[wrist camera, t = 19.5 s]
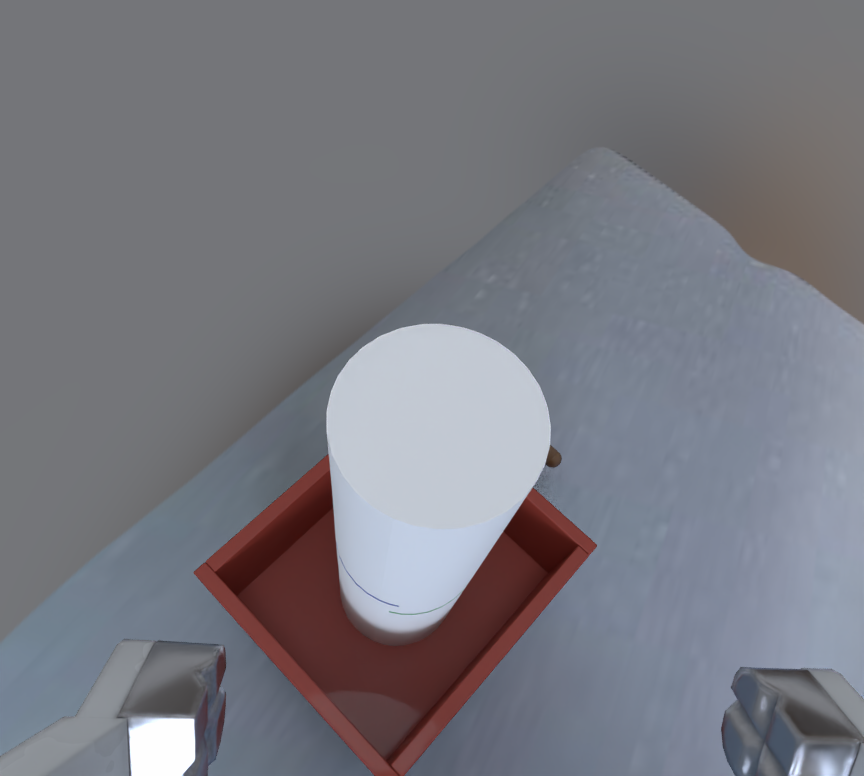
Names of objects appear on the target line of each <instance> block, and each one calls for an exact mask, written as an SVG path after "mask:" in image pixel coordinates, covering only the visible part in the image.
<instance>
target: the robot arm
mask: <svg viewBox="0 0 864 776" xmlns="http://www.w3.org/2000/svg"><path fill="white" fill-rule="evenodd" d="M225 669H226V652H225V648H224V645H218V644H203V643H187V642H172V641H151V640H133V639H124V640H122V641H121V642H120V643H118V644H117V645H116V647H115V649H114V650H113V652H112V654H111V656H110V657H109V659H108V661H107V662H106V664H105V666H104V668H103V669H102V671H101V673H100V674H99V676H98V678H97V679H96V681H95V683H94V685H93V686H92V688H91V690H90V691H89V693H88V695H87V697H86V698H85V700H84V702H83V703H82V705H81V707H80V708H79V710H78V712H77V714H76V715H75V717H63V718H61V719H59V720H58V721H56V722H55V723H53V724H51V725H50V726H48V727H47V728H45V729H43V730H42V731H40V732H39V733H37V734H35V735H34V736H32V737H31V738H29V739H27V740H26V741H24V742H22V743H21V744H19V745H18V746H16V747H14V748H13V749H11V750H10V751H8V752H6V753H5V754H3V755H2V756H0V776H208V766H209V765H210V764H211V763H212V762H213V761H215V760H216V756H217V753H218V749H219V746H220V742H221V736H222V731H223V726H224V718H225V707H226V692H225V691H224V689H223V688H222V687H221V686H220V684H221V681H222V678H223V675H224V672H225ZM731 689H732V690H733V692H734V694H735V696H736V698H737V700H736V701H735V702H734V703H733V704H732V705H731V706H730V707H729V708H728V709H727V710H725V714H724V718H723V723H722V728H721V731H722V743H723V749H724V752H725V755H726V758H727V761H728V763H729V765H730V767H731V769H732V771H733V773H734V774H735V776H864V699H863V698H862V697H861V696H860V695H859V694H858V693H857V692H856V690H855V689H854V688H853V687H852V686H851V685H850V684H849V683H848V681H847V680H846V679H845V678H844V677H843V676H842V675H841V674H840V673H838V672H836V671H835V670H833V669H816V668H801V669H779V668H752V667H740V669H739V670H738V671H737V672H736V674H735V676H734V679H733V683H732V686H731Z"/></svg>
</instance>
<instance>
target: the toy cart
mask: <svg viewBox="0 0 864 776" xmlns="http://www.w3.org/2000/svg"><path fill="white" fill-rule="evenodd" d="M561 459H562V458H561V455H560V453H559V452H558V451H557V450H556V449H554V448H553V447H552V446H551V445H550V448H549V452H548V455H547V459H546V463H545V464H546V465H547V466H549V467H557V466H558V465H559V464H560V463H561ZM596 547H597V545H596V544H595V543H594V542H593V541H592V540H591V539H590V538H589V537H588V536H587V535H585V534H584V533H583V532H582V531H581V530H580V529H579V528H578V527H576V526H575V525H574V524H573V523H572V522H571V521H570V520H569V519H568V518H566V517H565V516H564V515H563V514H562V513H561V512H560V511H559V510H557V509H556V508H555V507H554V506H553V505H552V504H551V503H550V502H548V501H547V500H546V499H545V498H544V497H543V496H542V495H541V494H540V493H538V492H537V491H536V490H535V489H534V488H532V489H531V491H530V492H529V494H528V495H527V497H526V498H525V500H524V501H523V503H522V504H521V506H520V507H519V509H518V510H517V512H516V513H515V515H514V516H513V517H512V519H511V520H510V522H509V523H508V525H507V526H506V528H505V529H504V531H503V532H502V534H501V535H500V537H499V538H498V540H497V541H496V543H495V544H494V546H493V547H492V549H491V550H490V552H489V553H488V555H487V556H486V558H485V559H484V561H483V562H482V564H481V565H480V567H479V568H478V570H477V571H476V573H475V574H474V576H473V577H472V579H471V580H470V582H469V583H468V585H467V586H466V588H465V589H464V591H463V592H462V594H461V595H460V597H459V598H458V599H457V601H456V602H455V604H454V605H453V607H452V608H451V610H450V611H449V613H448V614H447V616H446V617H445V619H444V620H443V622H442V623H441V624H440V625H439V627H438V628H437V629H436V630H435V631H434V632H432V633H431V634H430V635H429V636H427V637H426V638H424V639H422V640H420V641H418V642H415V643H412V644H408V645H401V646H391V645H384V644H381V643H378V642H375V641H372V640H371V639H369V638H367V637H366V636H364V635H363V634H362V633H360V632H359V631H358V630H357V629H356V628H355V627H354V626H353V624H352V623H351V621H350V620H349V619H348V617H347V615H346V613H345V610H344V608H343V605H342V600H341V596H340V583H339V569H338V558H337V548H336V537H335V523H334V510H333V496H332V484H331V473H330V462H329V454H328V455H327V456H326V457H324V458H323V459H322V460H321V461H320V462H319V463H318V464H316V465H315V466H314V467H313V468H312V469H311V470H310V471H308V472H307V473H306V474H305V475H304V476H303V477H301V478H300V479H299V480H298V481H297V482H296V483H295V484H293V485H292V486H291V487H290V488H289V489H288V490H287V491H285V492H284V493H283V494H282V495H281V496H280V497H279V498H277V499H276V500H275V501H274V502H273V503H272V504H271V505H269V506H268V507H267V508H266V509H265V510H264V511H263V512H261V513H260V514H259V515H258V516H257V517H256V518H255V519H253V520H252V521H251V522H250V523H249V524H248V525H247V526H245V527H244V528H243V529H242V530H241V531H240V532H239V533H237V534H236V535H235V536H234V537H233V538H232V539H231V540H229V541H228V542H227V543H226V544H225V545H224V546H223V547H221V548H220V549H219V550H218V551H217V552H216V553H215V554H213V555H212V556H211V557H210V558H209V559H208V560H207V561H206V562H205V563H203V564H202V565H201V566H200V567H199V568H198V569H196V570H195V571H194V574H195V575H196V576H197V578H198V579H199V580H200V581H201V582H202V583H203V584H204V586H205V587H206V588H207V589H208V590H209V591H210V592H211V593H212V595H213V596H214V597H215V598H216V599H217V600H218V601H219V603H220V604H221V605H222V606H223V607H224V608H225V609H226V610H227V611H228V613H229V614H230V615H231V616H232V617H233V618H234V619H235V620H236V622H237V623H238V624H239V625H240V626H241V627H242V628H243V629H244V630H245V632H246V633H247V634H248V635H249V636H250V637H251V638H252V639H253V640H254V642H255V643H256V644H257V645H258V646H259V647H260V648H261V649H262V651H263V652H264V653H265V654H266V655H267V656H268V657H269V658H270V659H271V661H272V662H273V663H274V664H275V665H276V666H277V667H278V668H279V670H280V671H281V672H282V673H283V674H284V675H285V676H286V677H287V678H288V680H289V681H290V682H291V683H292V684H293V685H294V686H295V687H296V689H297V690H298V691H299V692H300V693H301V694H302V695H303V696H304V697H305V699H306V700H307V701H308V702H309V703H310V704H311V705H312V706H313V708H314V709H315V710H316V711H317V712H318V713H319V714H320V715H321V716H322V718H323V719H324V720H325V721H326V722H327V723H328V724H329V725H330V726H331V728H332V729H333V730H334V731H335V732H336V733H337V734H338V735H339V737H340V738H341V739H342V740H343V741H344V742H345V743H346V744H347V745H348V747H349V748H350V749H351V750H352V751H353V752H354V753H355V754H356V756H357V757H358V758H359V759H360V760H361V761H362V762H363V763H364V764H365V766H366V767H367V768H368V769H369V770H370V771H371V772H372V773H373V775H374V776H404V775H405V774H406V773H407V772H408V770H409V769H410V768H411V767H412V766H413V764H414V763H415V762H416V761H417V760H418V759H419V757H420V756H421V755H422V754H423V753H424V751H425V750H426V749H427V748H428V747H429V745H430V744H431V743H432V742H433V741H434V740H435V738H436V737H437V736H438V735H439V734H440V732H441V731H442V730H443V729H444V728H445V726H446V725H447V724H448V723H449V722H450V720H451V719H452V718H453V717H454V716H455V715H456V713H457V712H458V711H459V710H460V709H461V707H462V706H463V705H464V704H465V703H466V701H467V700H468V699H469V698H470V697H471V696H472V694H473V693H474V692H475V691H476V690H477V688H478V687H479V686H480V685H481V684H482V682H483V681H484V680H485V679H486V678H487V677H488V675H489V674H490V673H491V672H492V671H493V669H494V668H495V667H496V666H497V665H498V663H499V662H500V661H501V660H502V659H503V657H504V656H505V655H506V654H507V653H508V652H509V650H510V649H511V648H512V647H513V646H514V644H515V643H516V642H517V641H518V640H519V638H520V637H521V636H522V635H523V634H524V633H525V631H526V630H527V629H528V628H529V627H530V625H531V624H532V623H533V622H534V621H535V619H536V618H537V617H538V616H539V615H540V614H541V612H542V611H543V610H544V609H545V608H546V606H547V605H548V604H549V603H550V602H551V600H552V599H553V598H554V597H555V596H556V594H557V593H558V592H559V591H560V590H561V589H562V587H563V586H564V585H565V584H566V583H567V581H568V580H569V579H570V578H571V577H572V575H573V574H574V573H575V572H576V571H577V570H578V568H579V567H580V566H581V565H582V564H583V562H584V561H585V560H586V559H587V558H588V556H589V555H590V554H591V553H592V552H593V550H594V549H595V548H596Z"/></svg>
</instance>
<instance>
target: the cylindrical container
mask: <svg viewBox="0 0 864 776" xmlns="http://www.w3.org/2000/svg"><path fill="white" fill-rule="evenodd" d="M550 435H551V424H550V418H549V412H548V406H547V403H546V401H545V398H544V396H543V393H542V391H541V388H540V386H539V384H538V383H537V381H536V380H535V378H534V377H533V375H532V374H531V372H530V371H529V369H528V368H527V367H526V366H525V365H524V364H523V363H522V362H521V361H520V360H519V359H518V357H517V356H516V355H515V354H514V353H512V352H511V351H510V350H508V349H507V348H505V347H504V346H503V345H501V344H500V343H499V342H497V341H495V340H493V339H491V338H489V337H487V336H485V335H483V334H481V333H479V332H476V331H473V330H469V329H466V328H463V327H458V326H452V325H445V324H420V325H414V326H409V327H404V328H399V329H397V330H394V331H392V332H389V333H387V334H384V335H381V336H379V337H378V338H376V339H375V340H373V341H372V342H370V343H368V344H367V345H365V346H364V347H362V348H361V349H360V350H359V351H358V352H357V353H356V354H355V355H354V356H353V357H352V358H351V359H350V360H349V361H348V362H347V364H346V365H345V367H344V368H343V369H342V371H341V372H340V374H339V375H338V377H337V379H336V382H335V384H334V386H333V388H332V391H331V393H330V398H329V403H328V407H327V441H328V452H329V462H330V473H331V484H332V496H333V510H334V523H335V537H336V548H337V558H338V569H339V583H340V596H341V600H342V605H343V608H344V610H345V613H346V615H347V617H348V619H349V620H350V621H351V623H352V624H353V626H354V627H355V628H356V629H357V630H358V631H359V632H360V633H362V634H363V635H364V636H366V637H367V638H369V639H371V640H372V641H375V642H378V643H381V644H384V645H391V646H401V645H408V644H412V643H415V642H418V641H420V640H422V639H424V638H426V637H427V636H429V635H430V634H431V633H432V632H434V631H435V630H436V629H437V628H438V627H439V625H440V624H441V623H442V622H443V620H444V619H445V617H446V616H447V614H448V613H449V611H450V610H451V608H452V607H453V605H454V604H455V602H456V601H457V599H458V598H459V597H460V595H461V594H462V592H463V591H464V589H465V588H466V586H467V585H468V583H469V582H470V580H471V579H472V577H473V576H474V574H475V573H476V571H477V570H478V568H479V567H480V565H481V564H482V562H483V561H484V559H485V558H486V556H487V555H488V553H489V552H490V550H491V549H492V547H493V546H494V544H495V543H496V541H497V540H498V538H499V537H500V535H501V534H502V532H503V531H504V529H505V528H506V526H507V525H508V523H509V522H510V520H511V519H512V517H513V516H514V515H515V513H516V512H517V510H518V509H519V507H520V506H521V504H522V503H523V501H524V500H525V498H526V497H527V495H528V494H529V492H530V491H531V489H532V488H533V486H534V485H535V483H536V482H537V480H538V478H539V476H540V474H541V472H542V470H543V468H544V466H545V463H546V459H547V455H548V452H549V448H550Z"/></svg>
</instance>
